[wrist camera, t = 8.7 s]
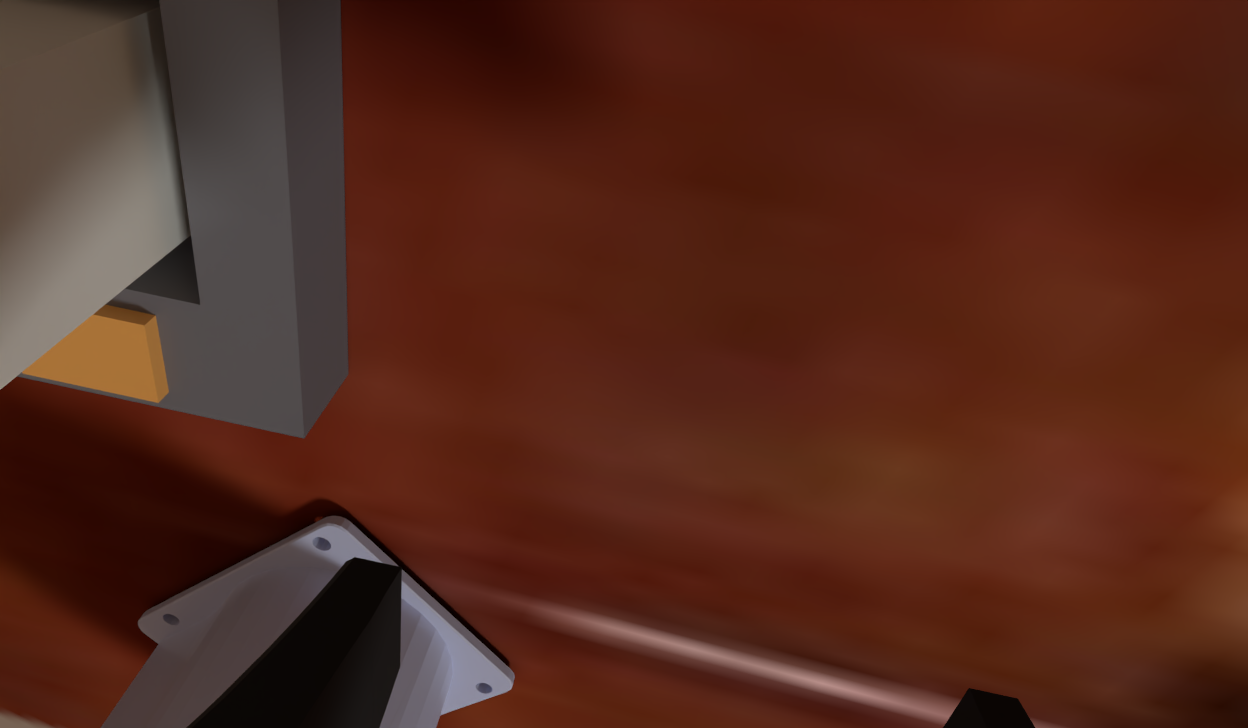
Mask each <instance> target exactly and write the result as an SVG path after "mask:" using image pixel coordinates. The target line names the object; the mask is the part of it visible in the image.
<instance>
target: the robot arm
mask: <svg viewBox="0 0 1248 728" xmlns="http://www.w3.org/2000/svg"><path fill="white" fill-rule="evenodd" d="M324 538H325V539H324ZM138 626H139V628H140V630H141V631H142V632H143V633H144V634H146V635H147V636H148V637H150V638H151V639H152V640H154V641H155V642H156V643H158V646H157V647H156V648H155V650H154V651H153V653H152V654H151V656H150V657H149V659H148V660H147V661H146V663H145V664H144V666H143V667H142V669H141V670H140V672H139V673H138V674H137V676H136V677H135V679H134V680H133V682H132V683H131V685H130V686H129V688H128V689H127V690H126V692H125V693H124V695H123V696H122V698H121V699H120V701H119V702H118V703H117V705H116V706H115V708H114V709H113V711H112V712H111V714H110V715H109V716H108V718H107V719H106V721H105V722H104V724H103V725H102V727H101V728H436V726H437V723H438V720H439V717H440V715H442V714H445V713H448V712H450V711H453V710H456V709H459V708H462V707H465V706H468V705H470V704H473V703H476V702H479V701H482V700H485V699H488V698H490V697H493V696H496V695H499V694H502V693H505V692H507V691H509V690H511V688H512V686H513V682H514V679H515V676H514V673H513V671H512V670H511V669H510V668H509V667H508V666H507V665H506V664H505V663H503V662H502V661H501V660H500V659H499V658H498V657H497V656H496V655H495V654H494V653H493V652H492V651H490V650H489V649H488V648H487V647H486V646H485V645H484V644H483V643H482V642H481V641H480V640H479V639H477V638H476V637H475V636H474V635H473V634H472V633H471V632H470V631H469V630H468V629H467V628H465V627H464V626H463V625H462V624H461V623H460V622H459V621H458V620H457V619H456V618H455V617H454V616H452V615H451V614H450V613H449V612H448V611H447V610H446V609H445V608H444V607H443V606H442V605H440V604H439V603H438V602H437V601H436V600H435V599H434V598H433V597H432V596H431V595H430V594H429V593H427V592H426V591H425V590H424V589H423V588H422V587H421V586H420V585H419V584H418V583H417V582H415V581H414V580H413V579H412V578H411V577H410V576H409V575H408V574H407V573H406V572H405V571H404V570H402V567H399V566H398V565H397V564H396V563H395V562H394V561H393V560H392V559H390V558H389V557H388V556H387V555H386V554H385V553H384V552H383V551H382V550H381V549H380V548H379V547H377V546H376V545H375V544H374V543H373V542H372V541H371V540H370V539H369V538H368V537H367V536H365V535H364V534H363V533H362V532H361V531H360V530H359V529H358V528H357V527H356V526H355V525H354V524H352V523H351V522H350V521H349V520H347V519H346V518H343V517H341V516H328V517H325V518H323V519H321V520H320V521H318V522H316V523H314V524H312V525H310V526H308V527H306V528H304V529H302V530H300V531H298V532H296V533H295V534H293V535H291V536H289V537H287V538H285V539H283V540H281V541H279V542H277V543H275V544H273V545H272V546H270V547H268V548H266V549H264V550H262V551H260V552H258V553H256V554H254V555H252V556H250V557H248V558H247V559H245V560H243V561H241V562H239V563H237V564H235V565H233V566H231V567H229V568H227V569H225V570H223V571H222V572H220V573H218V574H216V575H214V576H212V577H210V578H208V579H206V580H204V581H202V582H200V583H198V584H197V585H195V586H193V587H191V588H189V589H187V590H185V591H183V592H181V593H179V594H177V595H175V596H173V597H172V598H170V599H168V600H166V601H164V602H162V603H160V604H158V605H156V606H154V607H152V608H150V609H148V610H147V611H145V612H144V613H143V615H142V616H141V617H140V619H139V620H138ZM943 728H1035V727H1034V725H1033V723H1032V722H1031V720H1030V718H1029V717H1028V715H1027V713H1026V712H1025V710H1024V708H1023V707H1022V705H1021V703H1020V702H1019V700H1018V699H1017V698H1012V697H1008V696H1003V695H998V694H994V693H989V692H984V691H980V690H975V689H970V688H969V689H968V691H967V692H966V694H965V695H964V697H963V698H962V700H961V701H960V703H959V704H958V706H957V707H956V709H955V710H954V712H953V713H952V715H951V717H950V718H949V720H948V721H947V723H946V724H945V726H944V727H943Z"/></svg>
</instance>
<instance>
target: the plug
mask: <svg viewBox="0 0 1248 728" xmlns="http://www.w3.org/2000/svg"><path fill="white" fill-rule="evenodd" d="M190 235H191V231H190V224H189V217H188V209H187V202H186V195H185V187H184V180H183V172H182V165H181V158H180V150H179V143H178V136H177V128H176V121H175V114H174V106H173V99H172V91H171V84H170V77H169V69H168V62H167V55H166V47H165V40H164V33H163V25H162V18H161V10H160V3H159V0H0V390H1V389H2V388H3V387H4V386H5V385H7V384H8V383H9V382H10V381H12V380H13V379H14V378H15V377H17V376H18V375H19V374H20V373H21V372H23V371H24V370H25V369H26V368H28V367H29V366H30V365H31V364H33V363H34V362H35V361H36V360H37V359H39V358H40V357H41V356H42V355H44V354H45V353H46V352H47V351H49V350H50V349H51V348H52V347H53V346H55V345H56V344H57V343H58V342H60V341H61V340H62V339H63V338H65V337H66V336H67V335H68V334H69V333H71V332H72V331H73V330H74V329H76V328H77V327H78V326H79V325H81V324H82V323H83V322H84V321H85V320H87V319H88V318H89V317H90V316H92V315H93V314H94V313H95V312H97V311H98V310H99V309H100V308H102V307H103V306H104V305H105V304H106V303H108V302H109V301H110V300H111V299H113V298H114V297H115V296H116V295H118V294H119V293H120V292H121V291H122V290H124V289H125V288H126V287H127V286H129V285H130V284H131V283H132V282H134V281H135V280H136V279H137V278H138V277H140V276H141V275H142V274H143V273H145V272H146V271H147V270H148V269H150V268H151V267H152V266H153V265H154V264H156V263H157V262H158V261H159V260H161V259H162V258H163V257H164V256H166V255H167V254H168V253H169V252H170V251H172V250H173V249H174V248H175V247H177V246H178V245H179V244H180V243H182V242H183V241H184V240H185V239H186V238H188V237H189V236H190Z"/></svg>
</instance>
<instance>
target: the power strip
mask: <svg viewBox="0 0 1248 728" xmlns="http://www.w3.org/2000/svg"><path fill="white" fill-rule="evenodd" d="M159 3H160V10H161V18H162V25H163V33H164V40H165V47H166V55H167V62H168V69H169V77H170V84H171V91H172V99H173V106H174V114H175V121H176V128H177V136H178V143H179V150H180V158H181V165H182V172H183V180H184V187H185V195H186V202H187V209H188V217H189V224H190V231H191V235H190V236H189V237H188V238H186V239H185V240H184V241H183V242H182V243H180V244H179V245H178V246H177V247H175V248H174V249H173V250H172V251H170V252H169V253H168V254H167V255H166V256H164V257H163V258H162V259H161V260H159V261H158V262H157V263H156V264H154V265H153V266H152V267H151V268H150V269H148V270H147V271H146V272H145V273H143V274H142V275H141V276H140V277H138V278H137V279H136V280H135V281H134V282H132V283H131V284H130V285H129V286H127V287H126V288H125V289H124V290H122V291H121V292H120V293H119V294H118V295H116V296H115V297H114V298H113V299H111V300H110V301H109V302H108V303H106V304H105V305H104V306H103V307H102V308H100V309H99V310H98V311H97V312H95V313H94V314H93V315H92V316H90V317H89V318H88V319H87V320H85V321H84V322H83V323H82V324H81V325H79V326H78V327H77V328H76V329H74V330H73V331H72V332H71V333H69V334H68V335H67V336H66V337H65V338H63V339H62V340H61V341H60V342H58V343H57V344H56V345H55V346H53V347H52V348H51V349H50V350H49V351H47V352H46V353H45V354H44V355H42V356H41V357H40V358H39V359H37V360H36V361H35V362H34V363H33V364H31V365H30V366H29V367H28V368H26V369H25V370H24V371H23V372H21V373H20V374H19V375H18V377H23V378H27V379H32V380H37V381H41V382H46V383H50V384H55V385H60V386H64V387H69V388H74V389H78V390H83V391H87V392H92V393H97V394H101V395H106V396H111V397H115V398H120V399H124V400H129V401H134V402H138V403H143V404H148V405H152V406H157V407H161V408H166V409H171V410H175V411H180V412H185V413H189V414H194V415H198V416H203V417H208V418H212V419H217V420H222V421H226V422H231V423H235V424H240V425H245V426H249V427H254V428H258V429H263V430H268V431H272V432H277V433H282V434H286V435H291V436H295V437H300V438H305V436H306V435H307V434H308V432H309V431H310V429H311V428H312V426H313V425H314V423H315V422H316V420H317V419H318V418H319V416H320V415H321V413H322V412H323V410H324V409H325V407H326V406H327V404H328V403H329V402H330V400H331V399H332V397H333V396H334V394H335V393H336V391H337V390H338V388H339V387H340V385H341V384H342V383H343V381H344V380H345V378H346V377H347V375H348V333H347V286H346V238H345V191H344V144H343V96H342V49H341V1H340V0H159Z"/></svg>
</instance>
